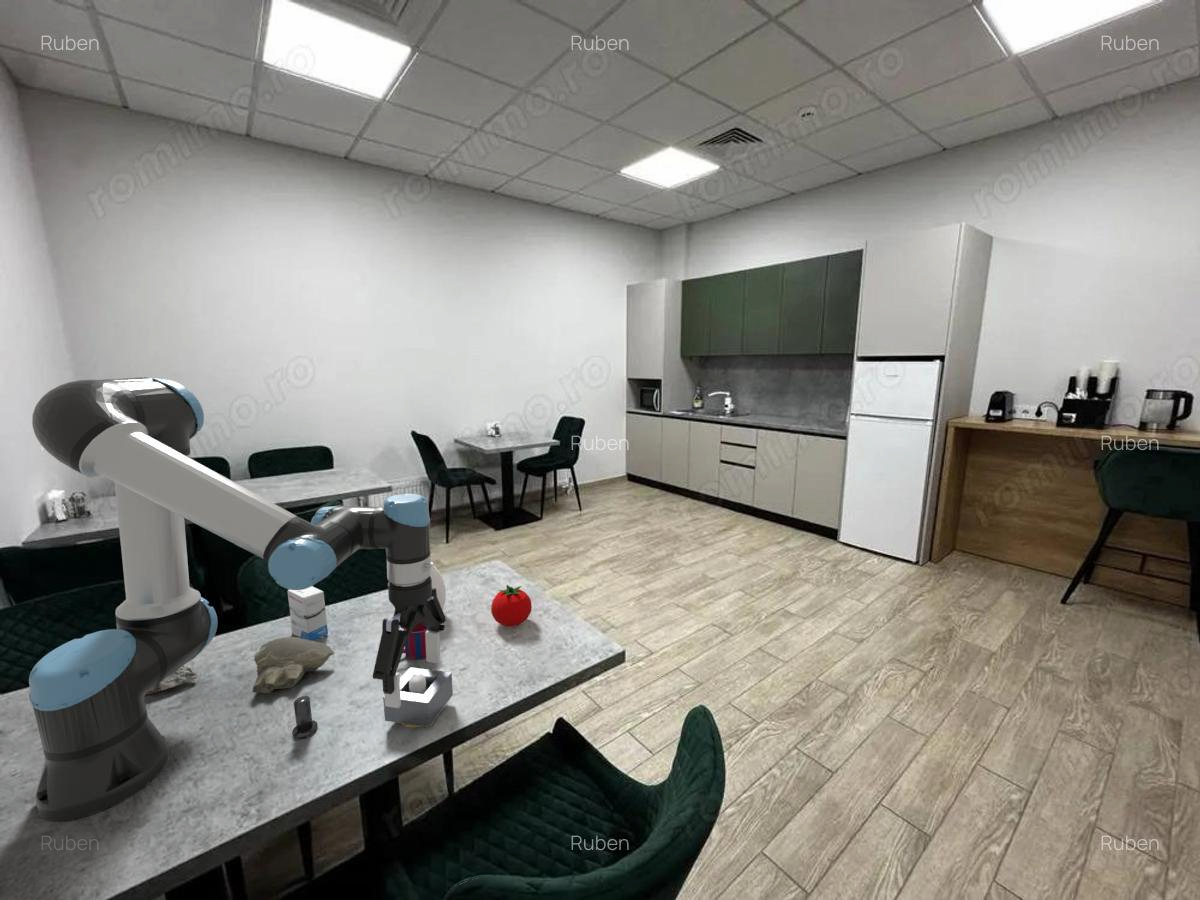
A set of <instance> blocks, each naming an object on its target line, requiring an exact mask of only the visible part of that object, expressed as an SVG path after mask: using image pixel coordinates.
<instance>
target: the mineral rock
mask: <svg viewBox="0 0 1200 900" xmlns="http://www.w3.org/2000/svg"><path fill="white" fill-rule="evenodd" d="M197 678H198V674H197V673H196V672H194V671H193V670H192V668H190V667H189V666H185V665H183V666H182V667H180V668H179V669H178V670H176V671H175V672H174V673H172V674H171V675H170V676H168V677H167V678H166V679H164V680H163V681H162V682H160V683H159V684H158V685H156V686H155V687H154V688H152V689H151V690H150V691H148V692H147V693H146V694H145V695H151V694H153V695H154V694H155V693H159V692H160V691H165V690H167V689H173V688H175V687H178V686H180V685H183V684H186V683H191V682H194V681H195V680H196V679H197Z"/></svg>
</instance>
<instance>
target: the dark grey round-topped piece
mask: <svg viewBox="0 0 1200 900" xmlns="http://www.w3.org/2000/svg"><path fill="white" fill-rule="evenodd" d="M311 706H312V705H311V698H310V696H308V695H303V696H300V697H298V698H296V699H295V700H294V701H293V708H294V716H295V717H294V718H295V726H294V727H293V728H292V732H291V733H292V737H293V739H295V740H302V739H306V738H308V737H311V736H313V734H315V733H316V732H317V730H318V728H319V727H318V725H319V724H318V722H317V721H316V720H314V719H313V717H312V707H311Z"/></svg>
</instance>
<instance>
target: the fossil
mask: <svg viewBox="0 0 1200 900" xmlns="http://www.w3.org/2000/svg"><path fill="white" fill-rule="evenodd" d="M333 655H335V652H334V651H333V649H332V648H331V647H330V646H329V645H327V644H326V643H322V642H319V641H317V640H315V641H311V640H306V639H302V638H300V637H297V636H295V637H292V636H287V637H286V636H283V637H278V638H275V639H273V640H269V641H267V642H266V643H264V644H263V645H261V647H260V648H259V651H257V652H256V653H255V655H254V657H253V658H254V659H253V660H254V661H255V665H256V669H257V670H256V672H257V677H256V679H255V681H254V684H253V687H252V691H251V692H252V693H259V694H270V693H271V692H273V691H274V690H277V689H279V690H280V689H290V688H292V687H295V686H296V684H298V683H299V681H300V680H301V679H302V678H303V676H304V675H305V672H310V671H315V670H318V669H319V668H321V667H322V666H324V664H325V663H326V662H327V661H328V660H329V658H330V657H331V656H333Z"/></svg>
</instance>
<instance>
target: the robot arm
mask: <svg viewBox="0 0 1200 900" xmlns="http://www.w3.org/2000/svg"><path fill="white" fill-rule="evenodd" d="M31 421H32V422H31V424H32V429H33V432H34V435H35V438H36V439H37V440H38V442H39V444H40V445H41V447H42V448H43V449H44V450H45V451H46V452H47V453H48V454H49V455H51V456H52V457H53V458H55V459H56V460H57V461H58V462H60V463H62V464H63V465H65V466H66V467H68V468H70V469H72V470H73V471H76V472H78V473H80V474H82V475H84V476H86V477H87V478H89V479H90V478H91V479H100V478H107V479H109V480H110V481H112V482H114V489H115V501H116V508H117V509H116V510H117V521H118V529H119V531H118V532H119V540H120V547H121V548H120V549H121V550H120V551H121V559H122V570H123V580H124V591H125V600H123V602H122V603H120V605H118V606H117V607H116V608H115V621H116V623H115V624H116V628H111V629H105V630H99V631H95V632H92V633H88V634H85V635H84V636H83V637H82V638H81V637H80V638H74V639H72V640H70V641H66V642H65V643H63V644H61V645H60V646H58V647H56V648H54V649H52V650H50V652H48V653H46V654H45V655H44V656H43V657H42V658H41V659H40V660H38V661H37V663H36V664H35V665H34V666H33V668H32V670H30V673H29V676H28V684H29V690H30V691H29V694H28V696H29V701H30V704H31V706H32V709H33V712H34V716H35V721H36V724H37V728H38V733H39V736H40V737H39V738H40V742H41V747H42V751H43V754H44V755H43V756H44V763H43V766H42V771H41V774H40V778H39V783H38V784H37V785H38V786H37V789H36V793H35V804H36V809H37V812H38V814H39V816H40V817H41V818H43V819H44V820H47V821H52V822H61V821H60V820H65V821H70V820H69V819H72V820H75V819H74V818H77V819H80V817H81V818H84V817H87V816H91V815H93V814H96V813H99V812H101V811H103V810H106V809H108V808H110V806H111V807H113V806H115V805H117V804H119V803H120V802H123V801H124V800H126V799H127V798H129V797H131V796H133V795H134V794H136V793H137V792H138V790H139V791H140V790H142V789H143V788H144V787H145V786H147V785H148V784H149V783H151V780H152V779H153V778H154V779H155V778H156V777H157V776H158V775H159V774H160V773H161V772H162V771H163V769H164V767H165V766H166V765H167V763H168V760H169V756H170V753H169V747H168V743H167V740H166V738H165V737H164V736H163V735H162V734H161V732H160V730H159V729H158V728H157V727H156V726H155V724H154V723H153V722H152V720H151V719H149V716H148V712H147V711H148V710H147V706H146V701H145V697H146V696H145V695H147V694H146V693H147V692H148V691H150V690H151V689H152V688H154V687H155V686H156V685H158V684H159V683H160V682H162V681H163V680H164V679H166V678H167V677H168V676H170V675H171V674H172V673H174V672H175V671H176V670H178V669H179V668H180V667H182V666H185V665H186V664H187V663H189V662H190V661H192V660H193V659H195V658H196V657H197V656H199V654H201V653H202V651H203V650H204V649H205V648H207V647H208V646H209V644H210V643H211V642H213V639H214V638H215V635H216V634H217V633H216V632H217V630H218V629H217V628H218V616H217V613H216V610H215V608H214V606H210V605H209V603H210V602H209V601H208V600H207V599H206V598H204V597H202V596H201V593H200V591H199V590H197V589H194V588H192V587H190V579H189V577H190V575H189V565H188V551H187V538H186V537H187V535H186V524H185V519H186V520H188V521H189V522H191V523H192V524H195V525H198V526H199V527H201V528H203V529H205V530H207V531H209V532H211V533H212V534H215V535H217V536H218V537H221V538H222V539H225V540H226V541H228V542H230V543H232V544H234V545H235V546H237V547H239V548H242V549H243V550H246V551H247V552H249V553H251V554H253V555H255V556H256V557H259V558H260V559H263V560H265V561H267V562H268V564H267V565H268V566H267V567H268V573H269V575H270V577H272V578H273V579H274V581H275V583H276V584H277V585H278V586H280V587H282V588H283V589H286V590H289V589H290V590H303V589H307V588H309V587H311V586H313V587H314V585H316V584H318V583H319V582H321V581H323V580H324V579H326V578H327V577H329V575H330V574H332V572H333V571H334V570H335V569H337V567H338V566H340V565H341V564H342V563H343V562H344V561H346V560H348V559H349V557H351V556H352V555H354V553H356V552H357V551H358V550H381V549H385V552H386V553H385V555H386V578H387V581H388V583H387V590H388V592H387V593H388V601H389V602H390V604H391V605H393V607H394V613H393V616H391V617H389V618H388V617H385V618H383V619H382V622H381V623H382V629H381V635H380V641H379V644H378V650H377V654H376V659H375V663H374V666H373V667H374V668H373V672H372V678H373V679H376V680H381V682H382V692H383V694H384V695H383V696H384V700H385V706H387V707H393V708H399V707H400V706H401V696H400V678H401V676H400V672H398V668H399V665H400V662H401V659H402V656H403V654H404V653H403V650H404V649H405V644H406V641H407V638H408V637H409V636H411V634H412V631H413V628H415V626H416V625H417V624H419V623H420V622H422V623H423V624H424V625H425V626H426V627H427V628H428V629H430V631H428V630H427V631H426V632H425V639H426V658H425V659H426V660H425V661H426V663H427V662H428V663H432V664H433V663H434V664H439V663H440V662H441V643H440V641H441V639H440V637H441V636H440V632H444V630H445V629H446V627H445V625H444V624H445V623H446V622H447V621H446V620H447V618H446V616H445V612H444V611H443V610H442V608H441V606H440V603H439V601H438V598H437V593H436V588H432V578H431V576H430V575H431V567H432V564H431V562H432V561H431V517H430V511H429V510H430V509H429V501H428V499H427V498H426V497H425V496H423V495H421V494H418V493H404V494H403V493H400V494H394V495H391V496H388V497H387V498H385V500H384V501H383V506H351V505H350V506H349V505H342V504H341V505H340V504H339V505H334V506H331V505H330V506H323V507H321V508H319V509H318V510H317V511H316V512H315V514H314V516H313V517H312V518H311V521H310V522H309V521H308V520H305V519H303V518H302V517H300V516H297V515H296V514H293V513H292V512H290V511H288V510H287V509H285V508H283V507H281V506H280V505H277V504H275V503H274V502H272V501H270V500H268V499H267V498H264V497H262V496H261V495H259V494H256V493H255V492H253V491H251V490H250V489H248V488H246V487H244V486H242V485H241V484H238V483H237V482H234V481H233V480H231V479H229V478H227V476H224V475H222V474H220V473H218V472H216V471H215V470H214V469H213V470H212V469H211V468H209V467H207V466H206V465H203V464H201V462H198V461H196V460H195V459H193V458H190V457H191V442H190V441H191V440H192V439H193V438H194V437H195V436H197V434H198V432H200V431H201V430H202V428H203V427H204V422H205V414H204V409H203V407H202V405H201V403H200V401H199V399H198V397H197V396H196V395H195V394H194V393H193V392H191V391H190V390H189V389H188V388H187V387H186V386H184V385H182V384H181V383H179V382H176V381H174V380H171V379H168V378H157V377H155V378H154V377H147V376H145V377H128V378H127V377H126V378H110V379H109V378H107V379H80V380H75V381H74V380H73V381H68V382H65V383H63V384H60V385H58V386H56V387H54V388H52V389H51V390H49V391H48V392H46V393H45V394H44V395H42V397H41V398H40V399H39V401H38V402H37V403H36V405H35V407H34V409H33V412H32V420H31ZM402 629H403V630H402ZM404 629H407V630H406V631H404ZM156 775H157V776H156ZM154 779H153V780H154ZM153 780H152V781H153ZM148 782H149V783H148ZM147 783H148V784H147ZM146 784H147V785H146ZM142 787H143V788H142ZM135 792H136V793H135Z"/></svg>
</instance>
